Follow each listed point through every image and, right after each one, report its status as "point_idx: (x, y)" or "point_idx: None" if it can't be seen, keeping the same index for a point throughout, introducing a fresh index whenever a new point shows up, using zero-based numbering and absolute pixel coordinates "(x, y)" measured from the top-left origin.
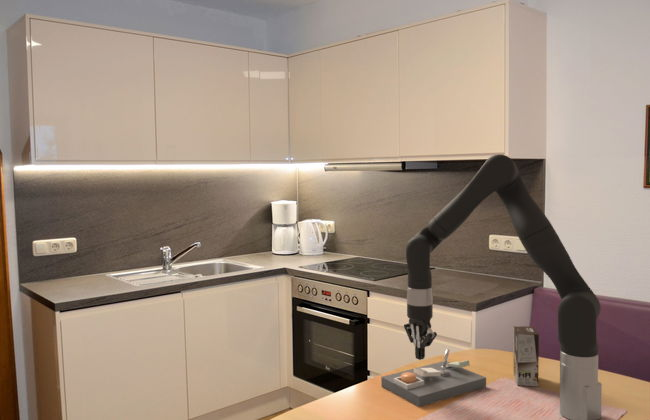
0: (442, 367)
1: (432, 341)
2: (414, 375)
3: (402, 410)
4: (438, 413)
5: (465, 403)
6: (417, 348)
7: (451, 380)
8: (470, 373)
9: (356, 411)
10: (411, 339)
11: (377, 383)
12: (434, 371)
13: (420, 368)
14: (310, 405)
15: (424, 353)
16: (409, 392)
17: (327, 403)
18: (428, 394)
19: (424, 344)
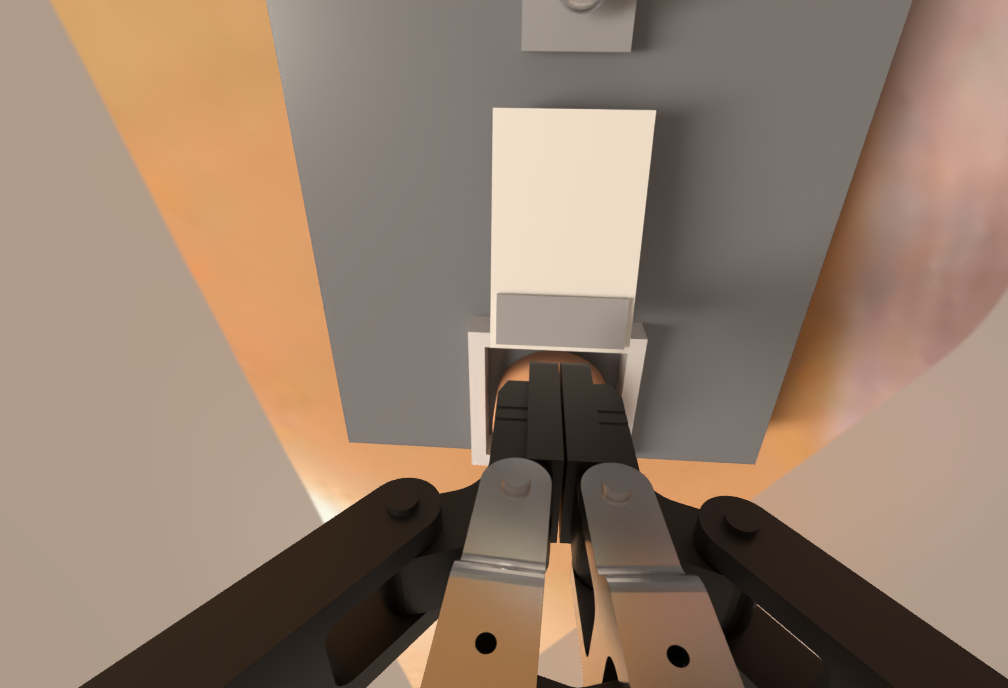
0: (593, 6)
1: (901, 607)
2: None
3: (693, 496)
4: (872, 397)
5: (961, 153)
6: (568, 533)
7: (751, 44)
8: None
9: (560, 610)
10: (415, 620)
11: (316, 393)
12: (625, 190)
13: (525, 300)
14: (412, 671)
15: (627, 426)
16: (652, 454)
17: (428, 636)
18: (774, 400)
19: (769, 649)
